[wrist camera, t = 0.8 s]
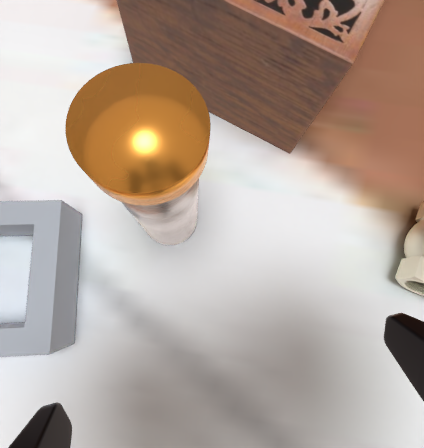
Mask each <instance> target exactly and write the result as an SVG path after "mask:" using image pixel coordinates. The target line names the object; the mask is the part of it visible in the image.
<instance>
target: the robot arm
mask: <svg viewBox="0 0 424 448" xmlns="http://www.w3.org/2000/svg"><path fill="white" fill-rule="evenodd" d="M384 341H385V344H386V346H387V347H388V349H389V350H390V352H391V353H392V355H393V356H394V358H395V359H396V361H397V362H398V364H399V365H400V367H401V368H402V370H403V371H404V373H405V374H406V376H407V377H408V379H409V380H410V382H411V383H412V385H413V386H414V388H415V389H416V391H417V392H418V394H419V395H420V397H421V398H422V399H423V401H424V322H423V321H421V320H418V319H416V318H414V317H411V316H409V315H406V314H403V313H398V314H394V315H390V316H388V317H387V318H386V324H385V332H384ZM71 436H72V425H71V422H70V420H69V418H68V416H67V414H66V412H65V411H64V409H63V407H62V405H61V404H60V403H53V404H50V405H46V406H43V407H41V408H40V409H39V410H38V411H37V412H36V414H35V415H34V416H33V418H32V419H31V420H30V421H29V423H28V424H27V425H26V426H25V428H24V429H23V430H22V431H21V433H20V434H19V435H18V436H17V438H16V439H15V440H14V441H13V443H12V444H11V445H10V446H9V448H70V445H71Z"/></svg>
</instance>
